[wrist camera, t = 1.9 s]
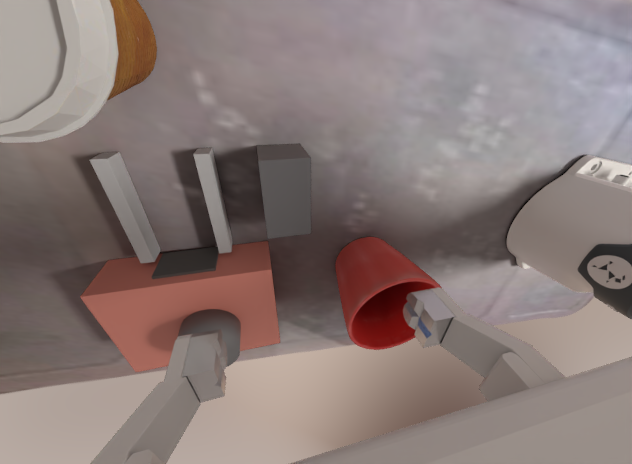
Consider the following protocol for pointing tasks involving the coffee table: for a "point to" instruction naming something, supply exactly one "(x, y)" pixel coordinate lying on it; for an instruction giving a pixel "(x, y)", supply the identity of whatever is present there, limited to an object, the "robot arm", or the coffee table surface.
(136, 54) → the disposable coffee cup
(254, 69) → the coffee table surface
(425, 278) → the flower pot
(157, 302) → the pink block with rods
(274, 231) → the tall grey rectangular block
